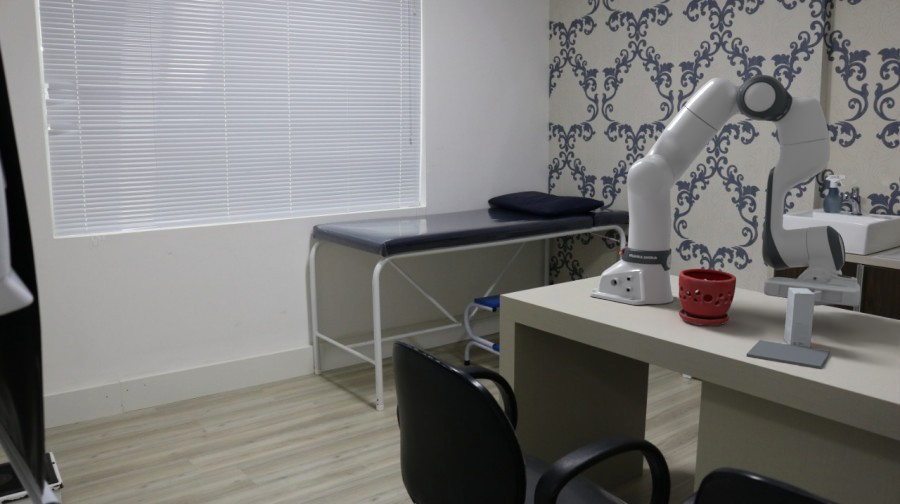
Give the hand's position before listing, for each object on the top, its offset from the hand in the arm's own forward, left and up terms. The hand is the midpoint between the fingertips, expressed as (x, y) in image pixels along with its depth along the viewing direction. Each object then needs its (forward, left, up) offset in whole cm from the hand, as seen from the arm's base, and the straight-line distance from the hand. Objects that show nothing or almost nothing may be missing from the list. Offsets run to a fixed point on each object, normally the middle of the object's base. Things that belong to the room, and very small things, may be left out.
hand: (806, 297), depth 167 cm
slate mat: (0, -17, -9) cm, 19 cm away
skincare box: (0, -7, -9) cm, 12 cm away
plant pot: (-22, 0, -9) cm, 24 cm away
